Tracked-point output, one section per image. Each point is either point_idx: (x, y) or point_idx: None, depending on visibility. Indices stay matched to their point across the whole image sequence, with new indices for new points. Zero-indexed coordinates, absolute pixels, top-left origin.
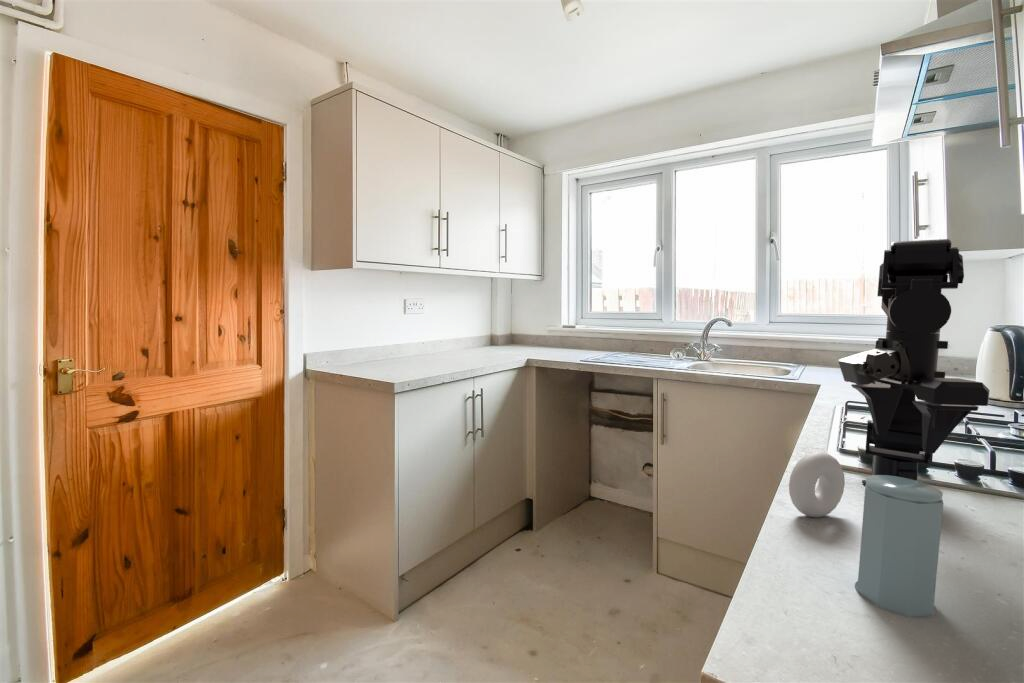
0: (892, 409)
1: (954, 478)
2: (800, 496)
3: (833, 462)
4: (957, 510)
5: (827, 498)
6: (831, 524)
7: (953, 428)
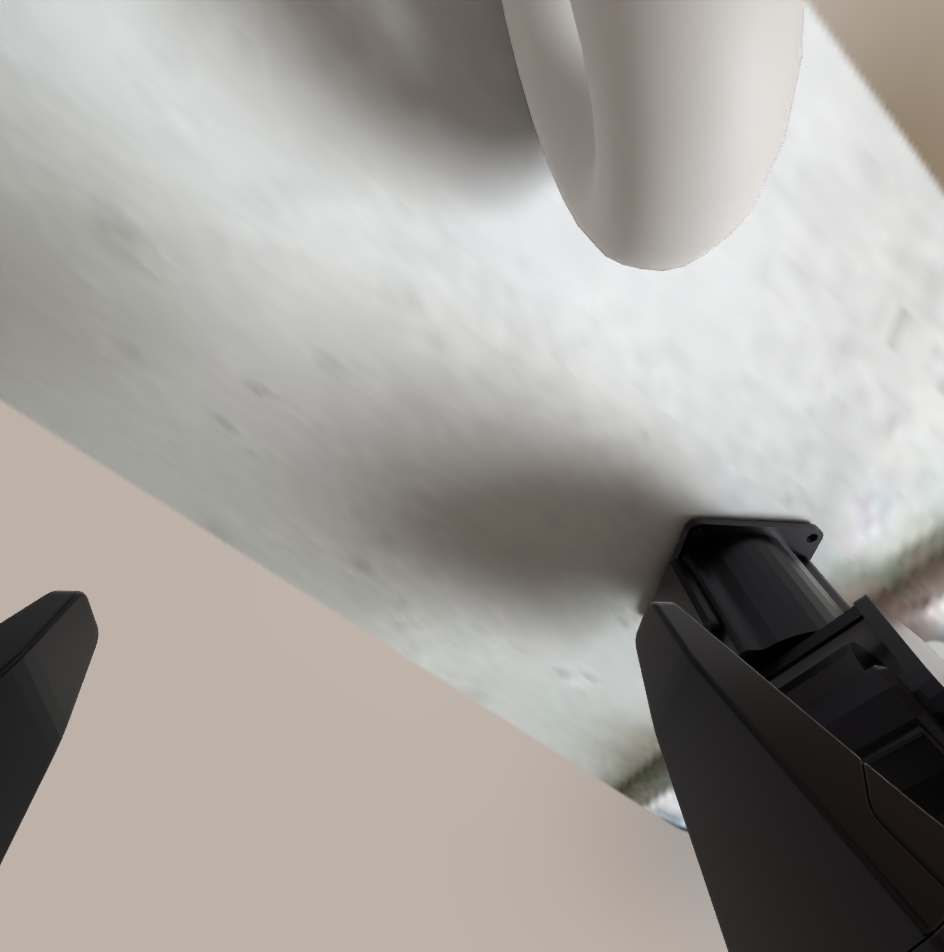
0: (729, 913)
1: None
2: None
3: (613, 120)
4: (563, 640)
5: (559, 99)
6: (471, 79)
7: None
